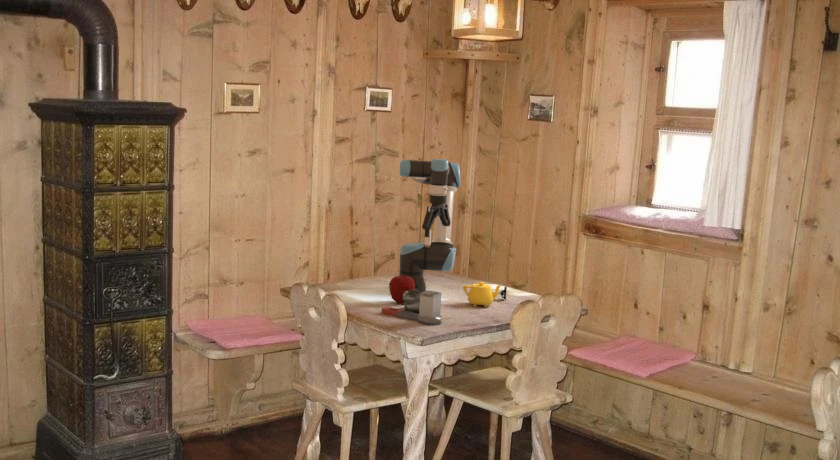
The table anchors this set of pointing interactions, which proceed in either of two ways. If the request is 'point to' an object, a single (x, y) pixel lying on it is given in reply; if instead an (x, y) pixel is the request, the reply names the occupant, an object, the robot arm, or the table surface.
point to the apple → (400, 287)
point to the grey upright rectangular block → (430, 304)
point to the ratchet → (411, 316)
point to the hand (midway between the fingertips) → (435, 242)
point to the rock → (411, 300)
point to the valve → (502, 293)
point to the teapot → (481, 294)
